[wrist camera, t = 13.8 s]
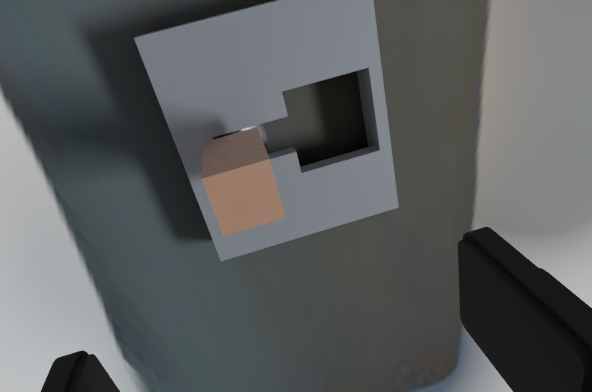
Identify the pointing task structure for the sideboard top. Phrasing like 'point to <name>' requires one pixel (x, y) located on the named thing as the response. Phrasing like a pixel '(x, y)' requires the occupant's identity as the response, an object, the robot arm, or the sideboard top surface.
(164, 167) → the sideboard top surface
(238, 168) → the keyhole peg
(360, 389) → the sideboard top surface
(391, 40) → the sideboard top surface
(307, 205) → the keyhole board
